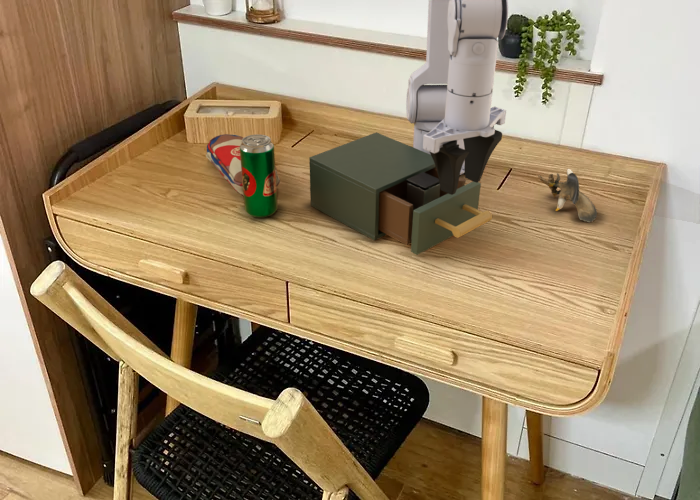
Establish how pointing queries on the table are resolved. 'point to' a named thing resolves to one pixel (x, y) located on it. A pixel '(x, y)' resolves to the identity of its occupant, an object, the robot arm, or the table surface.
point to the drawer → (430, 215)
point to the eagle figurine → (571, 195)
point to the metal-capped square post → (422, 190)
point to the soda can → (258, 175)
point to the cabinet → (362, 178)
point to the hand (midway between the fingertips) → (460, 185)
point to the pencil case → (229, 159)
